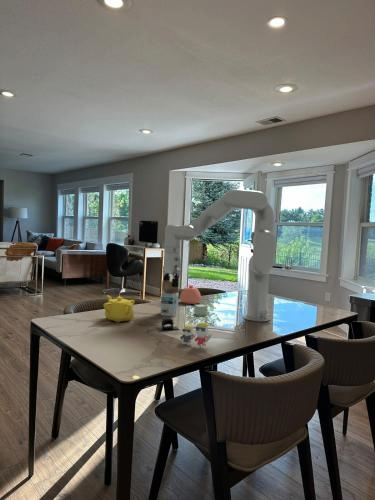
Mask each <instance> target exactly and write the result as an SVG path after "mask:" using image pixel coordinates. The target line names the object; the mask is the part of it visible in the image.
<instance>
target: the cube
mask: <svg viewBox="0 0 375 500" xmlns="http://www.w3.org/2000/svg"><path fill="white" fill-rule="evenodd" d="M207 311H208V306H207V305H205V304H195V305H194V310H193V314H194V315H196V316H199V317H200V316H207V314H208V312H207Z"/></svg>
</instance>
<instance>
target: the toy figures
mask: <svg viewBox="0 0 375 500" xmlns="http://www.w3.org/2000/svg"><path fill="white" fill-rule="evenodd" d="M208 327H209V324H208V323H206V322H198V323H197V324H196V326H195V333H194V327H193V326H192V325H184V326H183V328H182V331H181V332H182V335H181V336H180V339H181V340H182V341H181V344H182V345H187V346H188V345H189V346H191V345H192V344H193V343H192V341H193V340H194V342H195V345H194V348H196V347H197V348H198V349H199V348H200V349H202V348H203V349H202V350H206V349H207V346H206V343H208V342H209V340H211V338H212V333H209V328H208ZM196 343H197V344H196ZM197 348H196V349H197Z"/></svg>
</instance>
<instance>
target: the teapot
mask: <svg viewBox="0 0 375 500" xmlns="http://www.w3.org/2000/svg"><path fill="white" fill-rule="evenodd" d="M106 296H107V299H108V301H107V302H105V303H103V308H104V315H105V318H106V319H108V320H109V321H113V322H115V323H120V322H129V321H131V320H132V319H133V318H134V315H135V314H134V308H133V307H134V305H135V300H134V299H126V298H123V296H117V297H116V298H112V296H111V295H108V294H107V295H106Z"/></svg>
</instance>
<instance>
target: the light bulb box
mask: <svg viewBox="0 0 375 500" xmlns="http://www.w3.org/2000/svg"><path fill="white" fill-rule="evenodd" d="M179 292H180V291H179V290H178V293H165V292H163V291H162V292H161V298H160V299H161V301H160V316H167V317H175V315H177V314H178V312H179V298H180V293H179Z"/></svg>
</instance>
